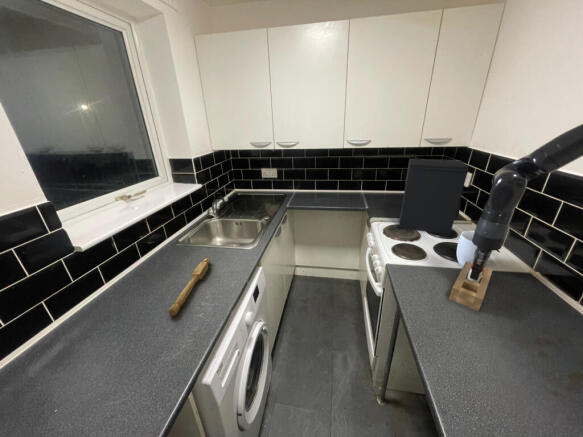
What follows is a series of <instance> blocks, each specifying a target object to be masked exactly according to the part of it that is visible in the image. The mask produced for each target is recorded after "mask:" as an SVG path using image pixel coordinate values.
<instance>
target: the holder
mask: <svg viewBox="0 0 583 437" xmlns="http://www.w3.org/2000/svg"><path fill="white" fill-rule="evenodd" d="M471 265H472V263H470V262H467V261H466V262H465V264H464V266H462V268H461V270H460V272H459V274H458V276H457V278H456V279H455V282H454V284H453V286H452V288H451V291H450V294H449V297H448V299H449V300H450V301H453V302H455V303H457V304H460V305H462V306H465V307H467V308H469V309H471V310H474V311H476V312H479V311H480V309H481V307H482V303H483V301H484V298H485V296H486V292H487V289H488V286H489V282H490V280H491V277H492V273H493V269H492V268H489V267H486V266H485V268H484V270H483V273H482V276H481V278H480V281H479V283H476V282H474V281H471V280H468V279H467V277H468V274H469V271H470V268H471Z"/></svg>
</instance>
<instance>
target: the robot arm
mask: <svg viewBox="0 0 583 437" xmlns="http://www.w3.org/2000/svg"><path fill="white" fill-rule="evenodd" d="M582 157H583V123H581V124H579V125H577V126H575V127H573V128H571V129H568V130H566V131H565V132H563V133H560V134H558V136H556V137H554V138H552V139H551V140H549V141H548V142H546V143H544V144H543V145H541V146H539V147H538V148H536V149H534V150H532V152H530V153H529V154H526V155H524V156H522V157H520V158H519V159H516V160H514V161H512V162H510V163H509V164H506V165H505V166H503V167H502V168H500V169H498V170H496V172H495V173H494V174H493V176H492V178H491V189H490V192H489V196H488V200H487V201H486V202H485V203H484V206H483V209H482V211H481V213H480V214H481V215H480V217H479V219H478V221H477V223H476V226H475V229H474V231H475V232H474V235H473V238H472V243H473V244H474V245H476V246H477V249H476V250H475V253H474V255H475V256H474V259H473V266H472V268H471V270H472V272H471V275H470V278H471V279H474V280H478V277H479V275H480V273H481V272H482V268H483V266H485V267H486V265H487V262H488V261H489V259H490V257H491V256H492V254H491V252H492V253H493V251H499V250H501V249H502V247H503V245H504V242H505V240H506V237H507V235H508V232H509V230H510V229H509V228H510V224H511V222H512V219H513V216H514V213H515V209H516V207H517V206H518V204H519V202H520V201H521V199H522V197H523V196H524V194H525V192H526V188H527V186H528V182H529V181H531V180H533V179H536V178H537V177H539V176H541V175H547V174H551V173H553V172H556V171H557V170H559V169H561V168H563V167H565V166H567V165H569V164H571V163H573V162H575V161H577V160H578V159H580V158H582ZM492 250H493V251H492Z"/></svg>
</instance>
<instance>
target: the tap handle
mask: <svg viewBox="0 0 583 437" xmlns="http://www.w3.org/2000/svg"><path fill="white" fill-rule="evenodd" d="M210 263H211V260H210V259H209V258H204V259H203V261H200V262H199V263H198V264H197V266H196V267H195V269H193V271H192V272H191V277H190V281H189V282H188V283H187V285H186V286H185V287H184V289H183V290H182V291H181V292H180V294H179V295H178V296H177V298H176V299H175V301H174V302H173V304H172V305H171V306H170V308H169V309H168V311H167V312H168V314H169V315H170V316H176V315H178V313H179V311H180V310H181V308H182V307H183V305H184V304H185V302H186V301H187V299H188V297H189V296H190V293H191V292H192V291H193V288H194V287H195V285H196V283H198V281H201V280H202V279H203V278H204V276H205V275H206V273H207V271H208V269H209V264H210Z"/></svg>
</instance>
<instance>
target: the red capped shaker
mask: <svg viewBox="0 0 583 437" xmlns="http://www.w3.org/2000/svg"><path fill="white" fill-rule="evenodd" d="M472 266H473V262H472V265H471V268H472ZM485 267H486V265H485V266H483V268H482V272H481V273H480V275H479V277H478V280H474V279H471V278H470V275H471V272H472V270H471V268H470V271H469V274H468V277H467V279H468V280H471V281H474V282H476V283H479V281H480V278H481V276H482V273H483V270H484V268H485Z"/></svg>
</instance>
